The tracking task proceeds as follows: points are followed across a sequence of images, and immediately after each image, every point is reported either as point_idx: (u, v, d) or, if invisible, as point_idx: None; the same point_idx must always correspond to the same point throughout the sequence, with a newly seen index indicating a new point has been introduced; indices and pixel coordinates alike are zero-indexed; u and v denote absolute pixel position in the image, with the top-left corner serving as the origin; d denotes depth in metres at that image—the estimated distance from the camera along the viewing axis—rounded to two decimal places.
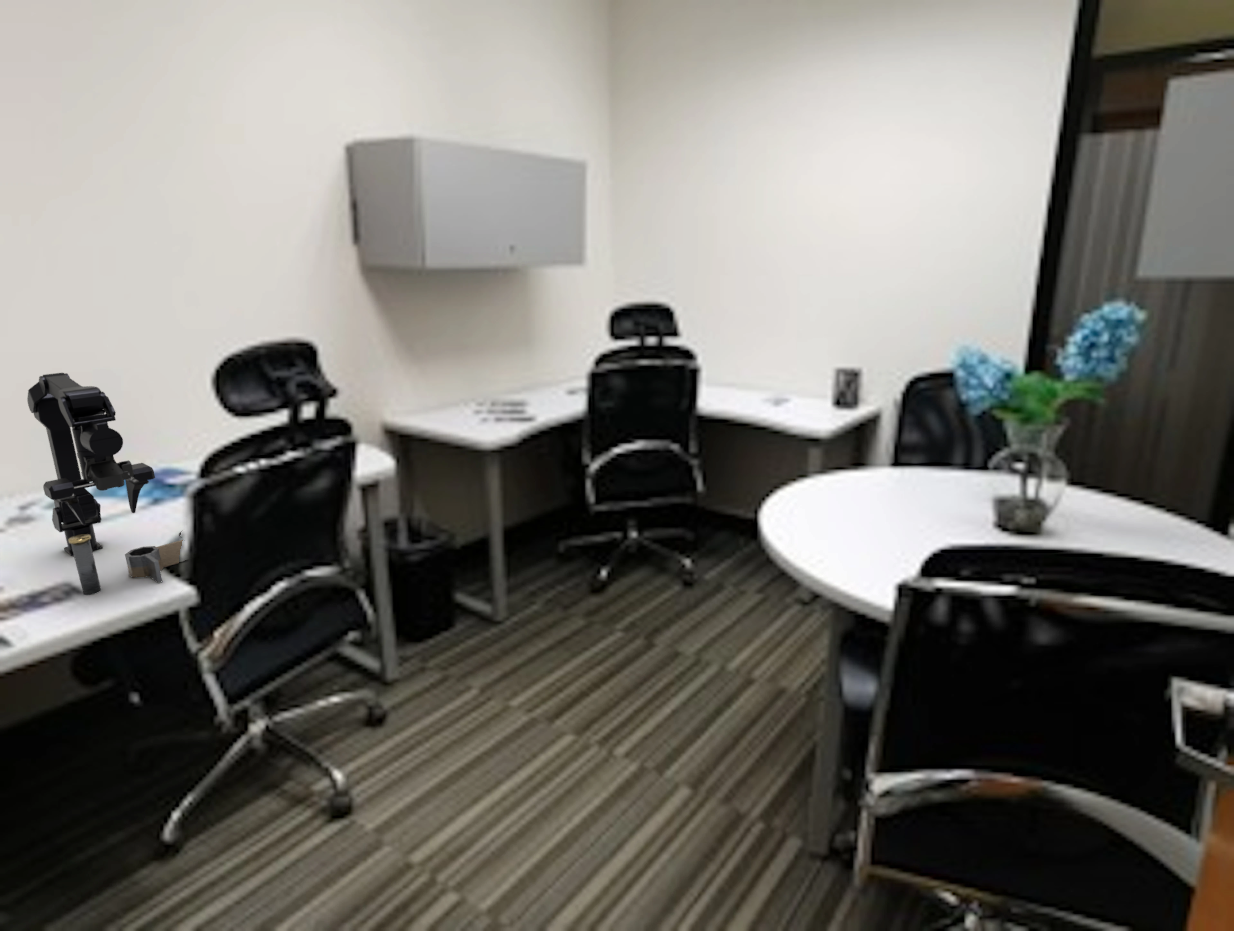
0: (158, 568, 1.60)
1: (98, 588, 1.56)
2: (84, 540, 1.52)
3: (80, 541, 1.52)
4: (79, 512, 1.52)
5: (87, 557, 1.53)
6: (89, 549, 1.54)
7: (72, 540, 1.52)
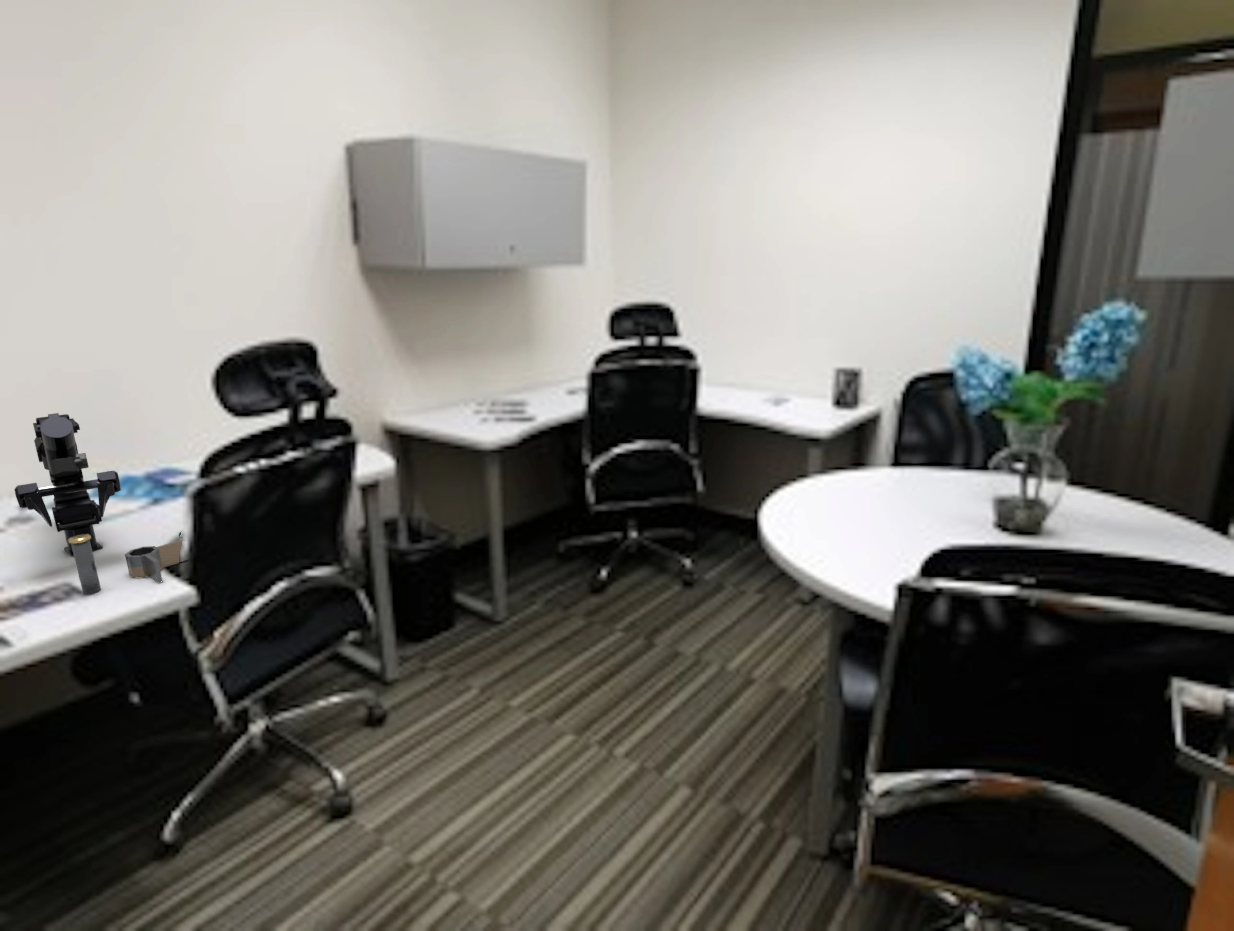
0: (158, 568, 1.60)
1: (98, 588, 1.56)
2: (84, 540, 1.52)
3: (80, 541, 1.52)
4: (44, 511, 1.59)
5: (87, 557, 1.53)
6: (89, 549, 1.54)
7: (72, 540, 1.52)
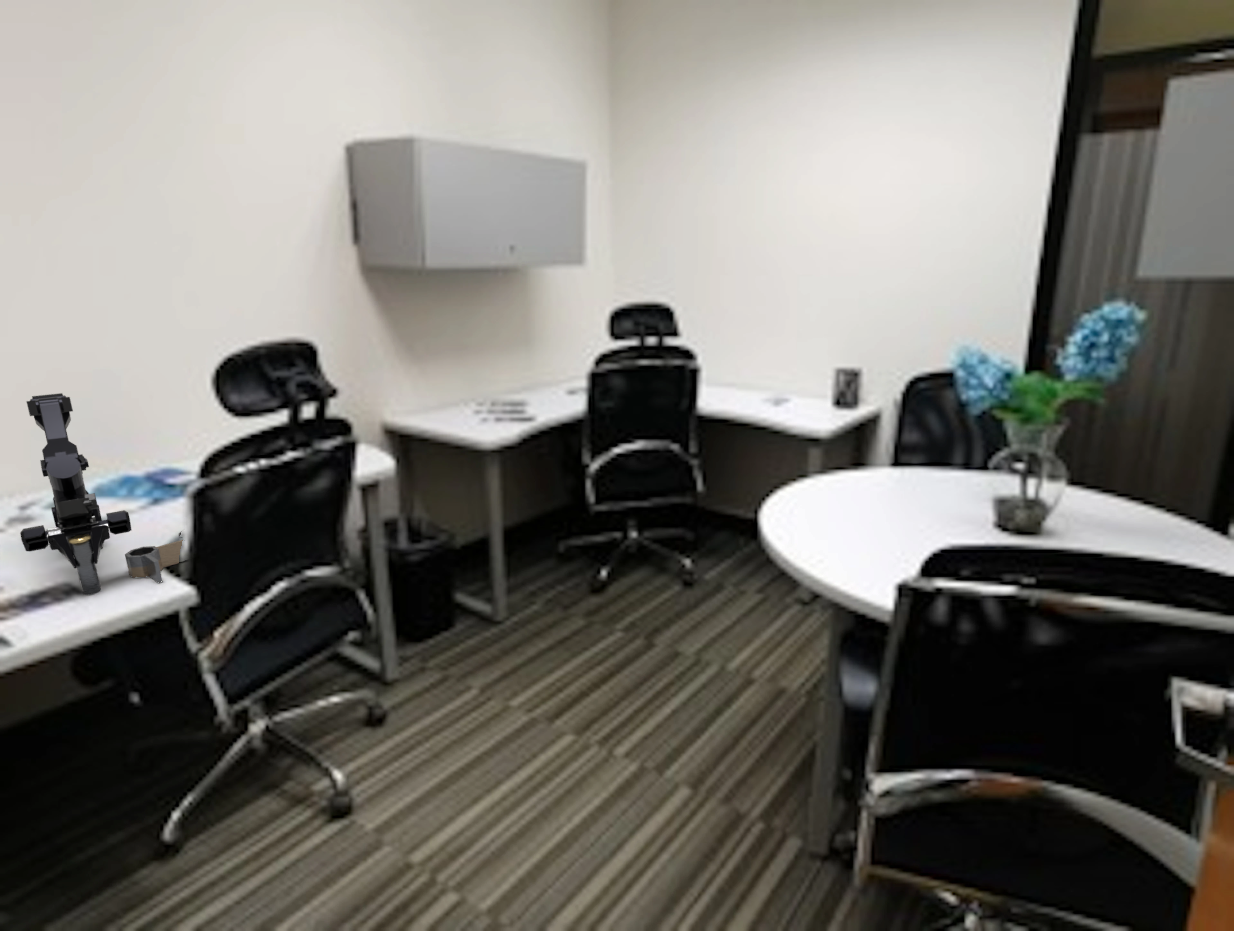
0: (158, 568, 1.60)
1: (98, 588, 1.56)
2: (84, 540, 1.52)
3: (80, 541, 1.52)
4: (69, 552, 1.53)
5: (87, 557, 1.53)
6: (89, 549, 1.54)
7: (72, 540, 1.52)
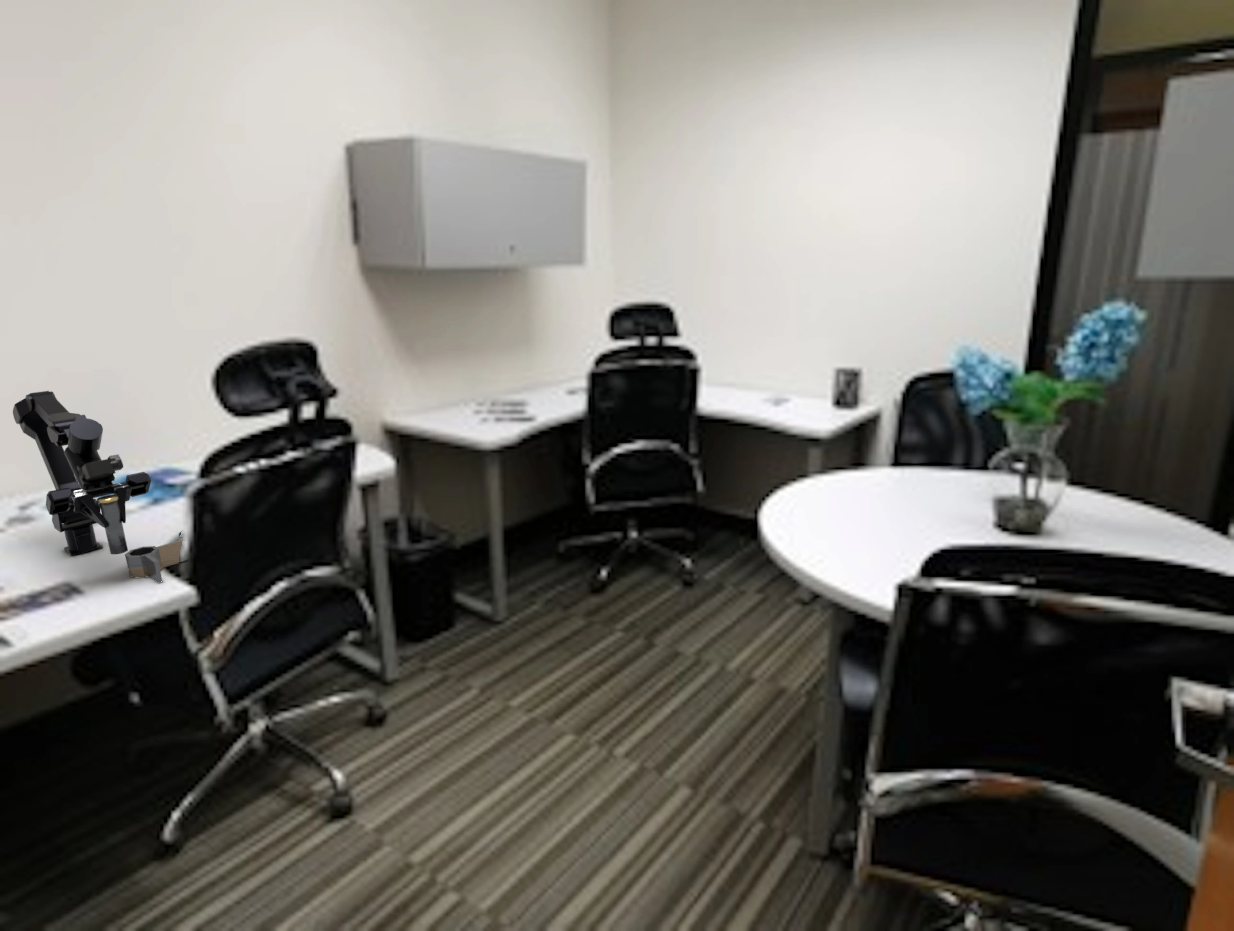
0: (158, 568, 1.60)
1: (126, 547, 1.60)
2: (114, 499, 1.56)
3: (111, 500, 1.55)
4: (97, 512, 1.55)
5: (116, 517, 1.57)
6: (118, 509, 1.57)
7: (102, 500, 1.55)
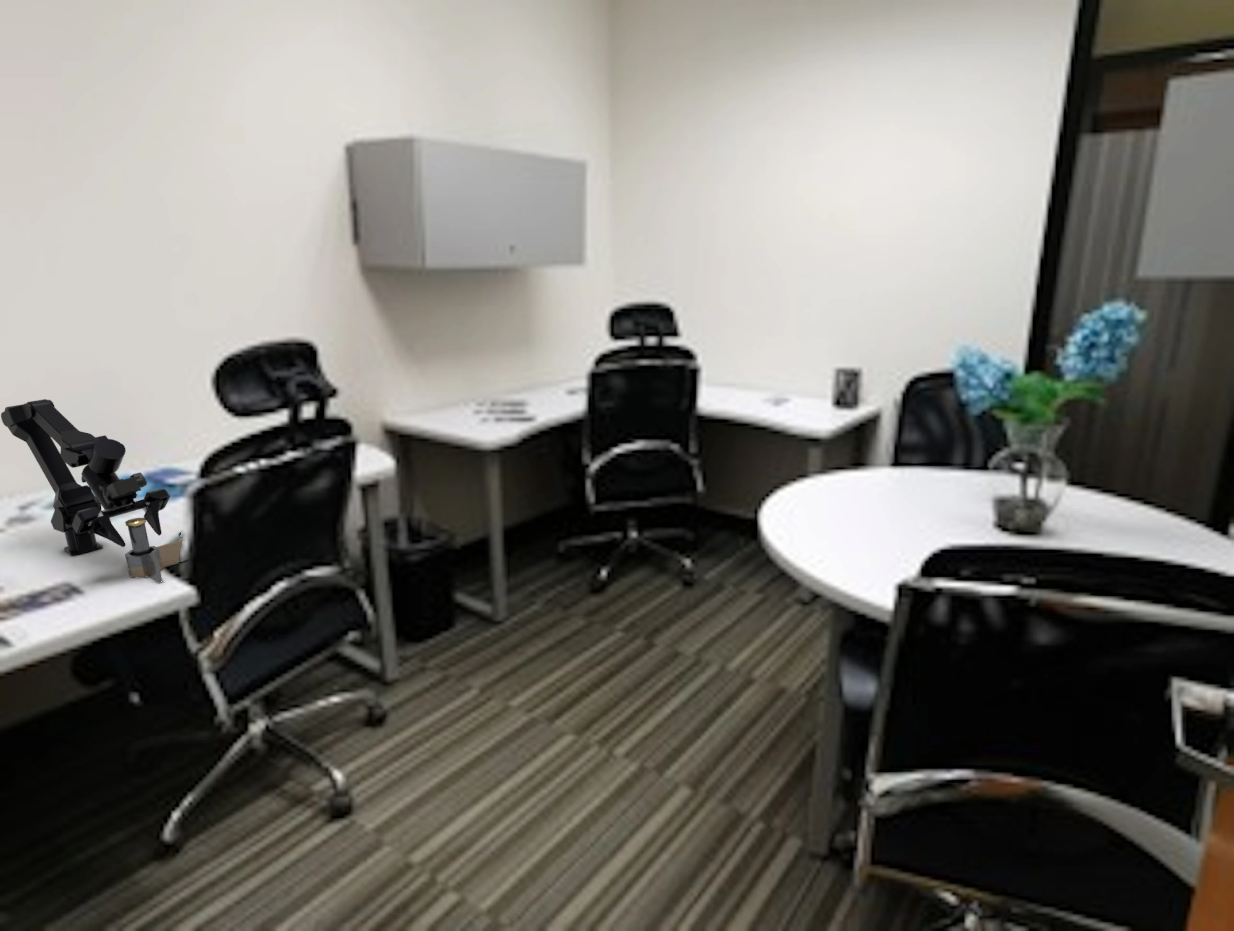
0: (158, 568, 1.60)
1: None
2: (143, 522, 1.62)
3: (140, 523, 1.62)
4: (115, 532, 1.59)
5: (145, 539, 1.63)
6: None
7: (132, 523, 1.61)
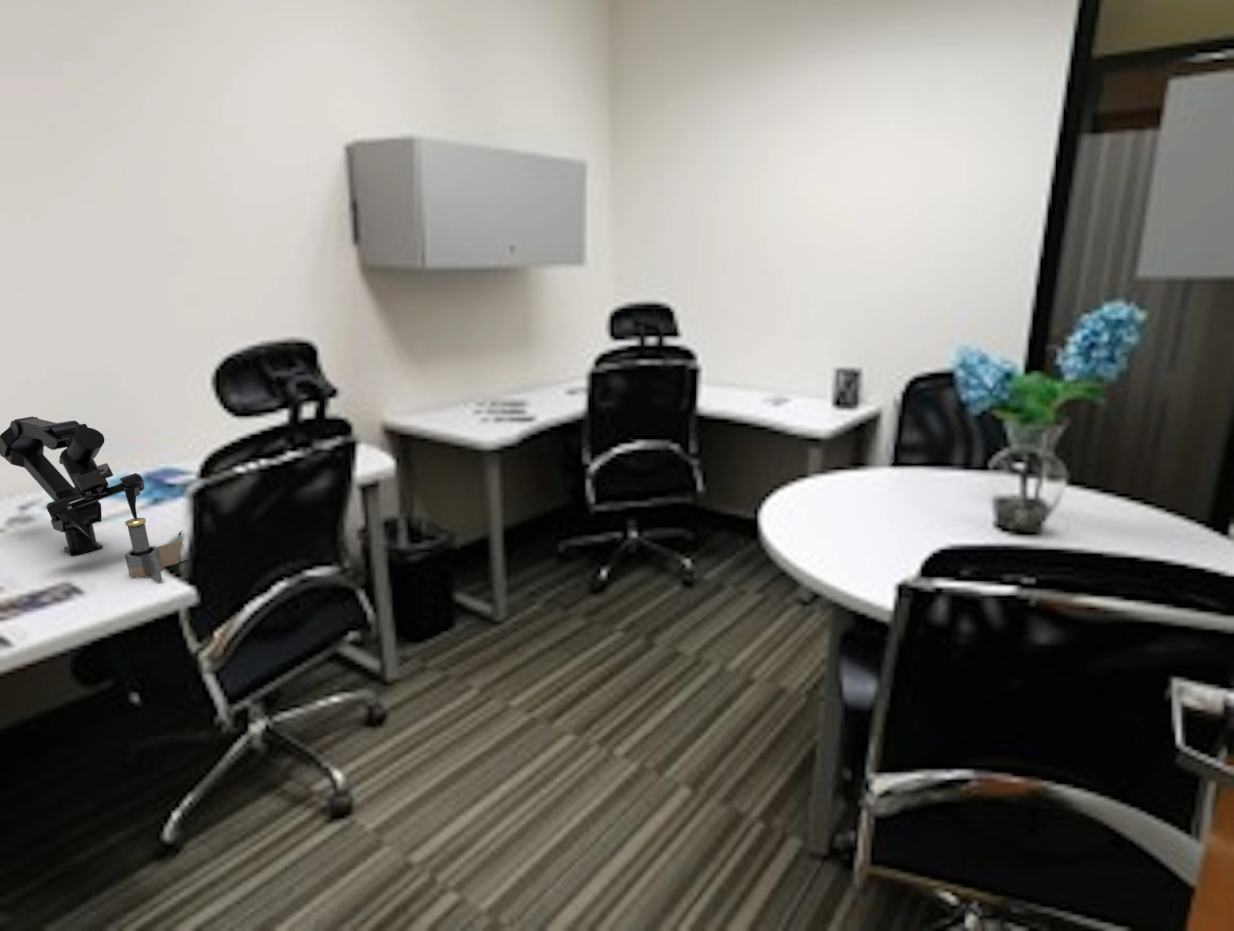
0: (158, 568, 1.60)
1: None
2: (143, 522, 1.62)
3: (140, 523, 1.62)
4: (81, 525, 1.63)
5: (145, 539, 1.63)
6: None
7: (132, 523, 1.61)
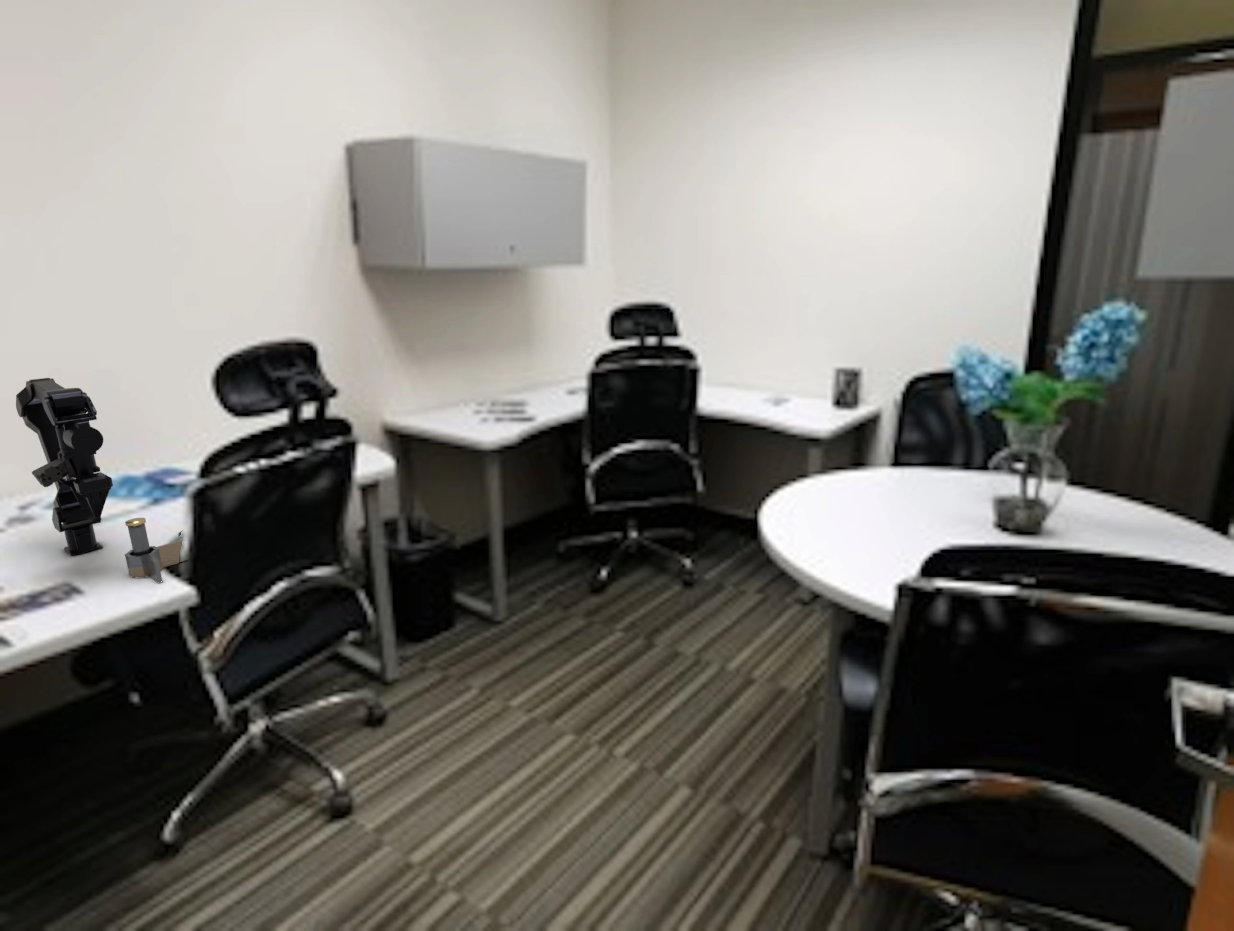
0: (158, 568, 1.60)
1: None
2: (143, 522, 1.62)
3: (140, 523, 1.62)
4: (75, 496, 1.68)
5: (145, 539, 1.63)
6: None
7: (131, 523, 1.61)
